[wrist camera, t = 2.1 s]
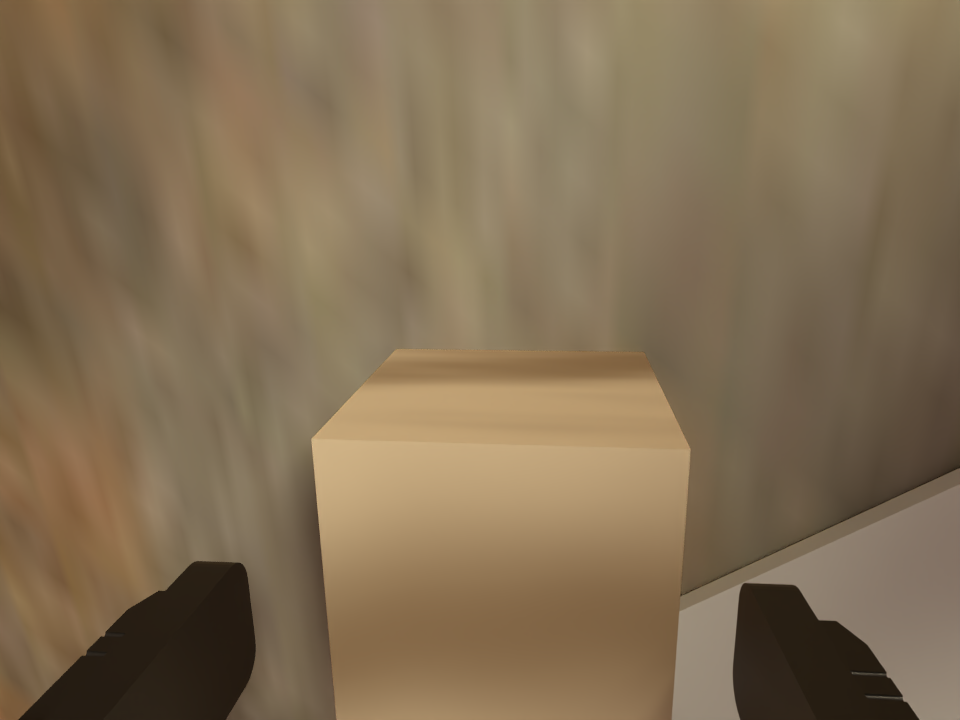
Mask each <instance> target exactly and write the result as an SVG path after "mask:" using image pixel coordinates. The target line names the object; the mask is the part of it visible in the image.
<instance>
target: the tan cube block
mask: <svg viewBox="0 0 960 720" xmlns="http://www.w3.org/2000/svg"><path fill="white" fill-rule="evenodd" d="M311 440H312V451H313V463H314V474H315V485H316V496H317V507H318V519H319V530H320V541H321V552H322V564H323V575H324V586H325V597H326V609H327V620H328V631H329V642H330V654H331V665H332V676H333V687H334V698H335V710H336V720H672V707H673V693H674V679H675V665H676V650H677V636H678V622H679V608H680V594H681V580H682V566H683V552H684V538H685V523H686V509H687V495H688V481H689V467H690V453H691V449H690V447H689V445H688V443H687V441H686V439H685V437H684V435H683V433H682V430H681V428H680V426H679V424H678V422H677V420H676V418H675V416H674V414H673V412H672V410H671V407H670V405H669V403H668V401H667V399H666V397H665V395H664V393H663V391H662V389H661V387H660V385H659V382H658V380H657V378H656V376H655V374H654V372H653V370H652V368H651V366H650V364H649V362H648V359H647V357H646V355H645V353H644V352H597V351H514V350H431V349H396V350H395V351H394V352H393V353H392V354H391V355H390V356H389V357H388V358H387V359H386V360H385V362H384V363H383V364H382V365H381V366H380V367H379V368H378V369H377V370H376V371H375V372H374V373H373V374H372V375H371V376H370V377H369V378H368V380H367V381H366V382H365V383H364V384H363V385H362V386H361V387H360V388H359V389H358V390H357V391H356V392H355V393H354V394H353V395H352V397H351V398H350V399H349V400H348V401H347V402H346V403H345V404H344V405H343V406H342V407H341V408H340V409H339V410H338V411H337V412H336V413H335V415H334V416H333V417H332V418H331V419H330V420H329V421H328V422H327V423H326V424H325V425H324V426H323V427H322V428H321V429H320V430H319V431H318V433H317V434H316V435H315V436H314V437H313V438H312V439H311Z"/></svg>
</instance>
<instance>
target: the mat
mask: <svg viewBox="0 0 960 720" xmlns="http://www.w3.org/2000/svg"><path fill="white" fill-rule="evenodd" d="M744 583H761V584H787V585H795V586H797V587H798V588H799V590H800V591H801V593H802V594H803V596H804V598H805V599H806V601H807V602H808V604H809V606H810V607H811V609H812V611H813V612H814V614H815V615H816V617H817V619H818V620H828V621H837V622H839V623H840V624H841V625H842V626H844V627H845V628H846V629H848V630H849V631H850V632H852V633H853V634H854V635H855V636H857V637H858V638H859V639H861V640H862V641H863V642H865V643H866V644H867V645H868V646H869V648H870V649H871V651H872V652H873V653H874V655H875V656H876V658H877V659H878V661H879V662H880V664H881V665H882V666H883V668H884V669H885V671H886V672H887V678H891V679H892V681H893V682H894V684H895V685H896V687H897V688H898V689H899V691H900V692H901V694H902V695H903V700H904V702H908V704H909V705H910V707H911V708H912V710H913V711H914V712H915V714H916V715H917V717H918V718H919V720H960V468H958V469H956V470H954V471H952V472H950V473H948V474H945V475H943V476H941V477H939V478H937V479H935V480H932V481H930V482H928V483H926V484H924V485H922V486H919V487H917V488H915V489H913V490H911V491H908V492H906V493H904V494H902V495H900V496H898V497H895V498H893V499H891V500H889V501H887V502H885V503H882V504H880V505H878V506H876V507H874V508H872V509H869V510H867V511H865V512H863V513H861V514H858V515H856V516H854V517H852V518H850V519H848V520H845V521H843V522H841V523H839V524H837V525H835V526H832V527H830V528H828V529H826V530H824V531H822V532H819V533H817V534H815V535H813V536H811V537H808V538H806V539H804V540H802V541H800V542H798V543H795V544H793V545H791V546H789V547H787V548H785V549H782V550H780V551H778V552H776V553H774V554H772V555H769V556H767V557H765V558H763V559H761V560H759V561H756V562H754V563H752V564H750V565H748V566H745V567H743V568H741V569H739V570H737V571H735V572H732V573H730V574H728V575H726V576H724V577H722V578H719V579H717V580H715V581H713V582H711V583H709V584H706V585H704V586H702V587H700V588H698V589H695V590H693V591H691V592H689V593H687V594H685V595H682V596H680V608H679V622H678V636H677V650H676V665H675V679H674V693H673V707H672V720H740V717H739V714H738V711H737V707H736V702H735V696H734V689H733V659H734V648H735V636H736V625H737V613H738V601H739V593H740V589H741V586H742V584H744Z"/></svg>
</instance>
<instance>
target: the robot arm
mask: <svg viewBox="0 0 960 720" xmlns="http://www.w3.org/2000/svg"><path fill="white" fill-rule="evenodd" d="M255 651H256V644H255V635H254V626H253V618H252V610H251V601H250V593H249V585H248V577H247V572H246V569H245V567H244V566H243V564H241V563H233V562H206V561H196V562H194V563H192V564H191V565H190V566H189V567H188V568H187V569H186V570H185V571H184V572H183V573H182V574H181V575H180V576H179V577H178V578H177V579H176V580H175V581H174V582H173V583H172V585H171V586H170V587H169V588H168V589H167V590H166V591H158V592H156V593H155V594H153V595H151V596H150V597H148V598H146V599H145V600H143V601H141V602H140V603H138V604H136V605H135V606H133V607H131V608H130V609H128V610H127V611H126V612H125V613H124V614H123V615H122V616H121V617H120V618H119V619H118V620H117V621H116V622H115V623H114V624H113V625H112V626H111V627H110V628H109V629H108V630H107V631H106V634H105V637H100V638H99V639H98V640H97V641H96V642H95V643H94V644H93V645H92V646H91V647H90V648H89V649H88V650H87V654H86V656H81V657H80V658H79V659H78V660H77V661H76V662H75V663H74V664H73V665H72V666H71V667H70V668H69V669H68V670H67V671H66V672H65V673H64V674H63V675H62V676H61V677H60V678H59V679H58V680H57V681H56V682H55V683H54V684H53V685H52V686H51V687H50V688H49V689H48V690H47V691H46V692H45V693H44V694H43V695H42V696H41V697H40V698H39V699H38V700H37V701H36V702H35V703H34V704H33V705H32V706H31V708H30V709H29V710H28V711H27V712H26V713H25V714H24V715H23V716H22V717H21V718H20V719H19V720H226V718H227V716H228V715H229V713H230V711H231V710H232V708H233V707H234V705H235V703H236V702H237V700H238V698H239V697H240V695H241V693H242V692H243V690H244V688H245V687H246V685H247V683H248V681H249V679H250V676H251V673H252V669H253V665H254V660H255ZM733 689H734V696H735V702H736V707H737V711H738V714H739V717H740V720H919V718H918V717H917V715H916V714H915V712H914V711H913V710H912V708H911V707H910V705H909V704H908V702H904V700H903V695H902V694H901V692H900V691H899V689H898V688H897V687H896V685H895V684H894V682H893V681H892V679H891V678H887V672H886V671H885V669H884V668H883V666H882V665H881V664H880V662H879V661H878V659H877V658H876V656H875V655H874V653H873V652H872V651H871V649H870V648H869V646H868V645H867V644H866V643H865V642H863V641H862V640H861V639H859V638H858V637H857V636H855V635H854V634H853V633H852V632H850V631H849V630H848V629H846V628H845V627H844V626H842V625H841V624H840V623H839V622H837V621H828V620H818V619H817V617H816V615H815V614H814V612H813V611H812V609H811V607H810V606H809V604H808V602H807V601H806V599H805V598H804V596H803V594H802V593H801V591H800V590H799V588H798V587H797V586H795V585H787V584H761V583H744V584H742V586H741V589H740V593H739V601H738V613H737V625H736V636H735V648H734V659H733Z"/></svg>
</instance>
